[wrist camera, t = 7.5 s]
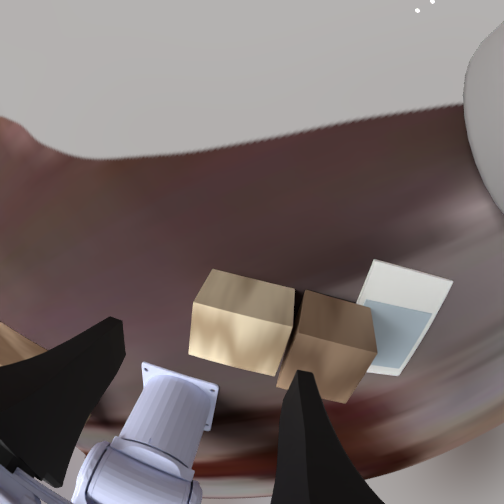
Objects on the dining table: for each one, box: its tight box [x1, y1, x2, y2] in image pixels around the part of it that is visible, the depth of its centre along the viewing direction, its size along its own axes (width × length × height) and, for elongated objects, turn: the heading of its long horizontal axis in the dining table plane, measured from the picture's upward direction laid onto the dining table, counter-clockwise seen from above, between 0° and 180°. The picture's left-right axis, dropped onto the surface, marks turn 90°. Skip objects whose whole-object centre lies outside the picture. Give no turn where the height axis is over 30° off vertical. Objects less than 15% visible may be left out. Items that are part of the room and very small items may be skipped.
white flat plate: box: [356, 259, 453, 376], centre depth 21 cm, size 10×7×1 cm
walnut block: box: [276, 290, 378, 403], centre depth 19 cm, size 5×5×5 cm
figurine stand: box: [0, 322, 91, 426], centre depth 30 cm, size 12×16×6 cm
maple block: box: [189, 269, 295, 376], centre depth 20 cm, size 4×4×6 cm
